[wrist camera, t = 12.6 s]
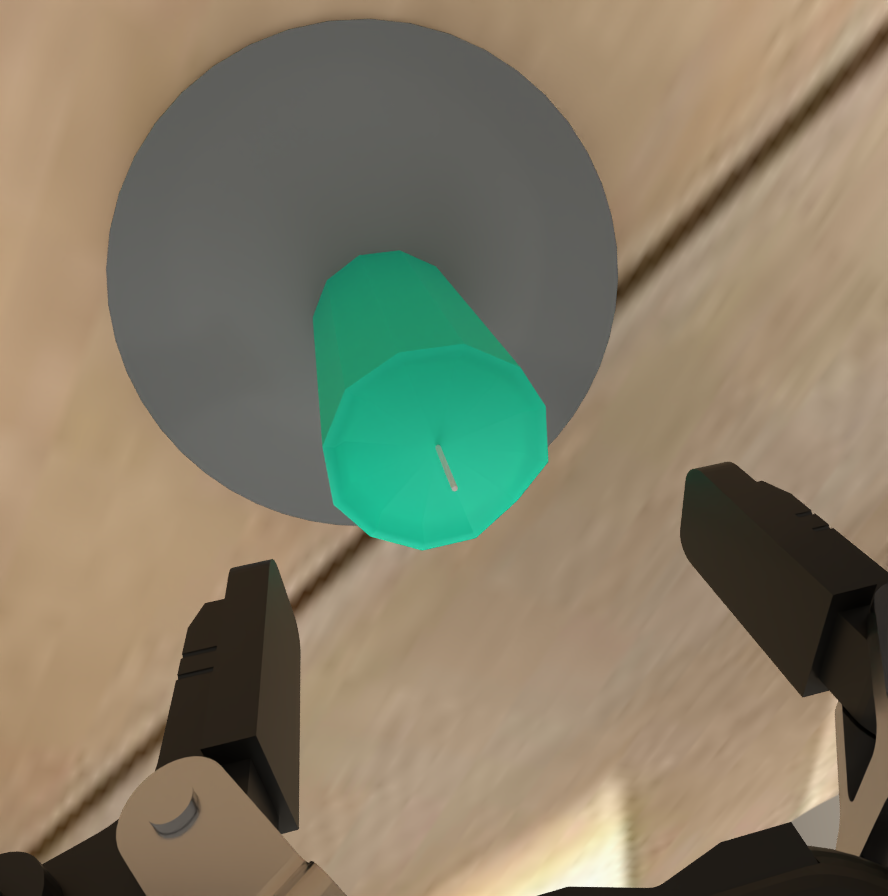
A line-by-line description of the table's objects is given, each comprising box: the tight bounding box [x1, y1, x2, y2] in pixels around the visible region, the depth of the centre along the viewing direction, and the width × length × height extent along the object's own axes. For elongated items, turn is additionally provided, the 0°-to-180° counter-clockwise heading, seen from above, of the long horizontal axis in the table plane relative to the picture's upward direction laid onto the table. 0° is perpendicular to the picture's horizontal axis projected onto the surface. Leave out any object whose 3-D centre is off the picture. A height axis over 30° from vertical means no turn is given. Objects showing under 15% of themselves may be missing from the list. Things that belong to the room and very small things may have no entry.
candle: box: [313, 250, 548, 551], centre depth 19 cm, size 6×6×12 cm
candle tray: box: [106, 19, 618, 526], centre depth 25 cm, size 20×20×1 cm
